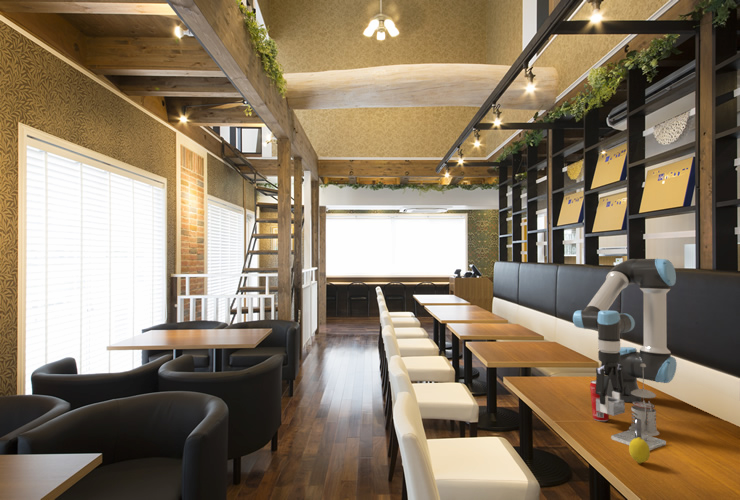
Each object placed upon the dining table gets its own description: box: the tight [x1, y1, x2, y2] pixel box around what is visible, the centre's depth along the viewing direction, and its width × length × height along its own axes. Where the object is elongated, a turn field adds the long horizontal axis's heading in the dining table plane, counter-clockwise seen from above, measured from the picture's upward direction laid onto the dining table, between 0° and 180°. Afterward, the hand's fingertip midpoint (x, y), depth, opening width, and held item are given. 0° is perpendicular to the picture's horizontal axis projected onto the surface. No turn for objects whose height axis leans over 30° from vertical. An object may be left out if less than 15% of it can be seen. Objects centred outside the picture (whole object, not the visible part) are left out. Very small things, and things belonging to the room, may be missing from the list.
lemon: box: [628, 437, 651, 464], centre depth 137 cm, size 6×6×8 cm
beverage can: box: [589, 379, 610, 422], centre depth 177 cm, size 6×6×15 cm
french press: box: [628, 363, 660, 437], centre depth 164 cm, size 10×12×25 cm
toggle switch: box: [610, 419, 667, 451], centre depth 154 cm, size 12×12×8 cm
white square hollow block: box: [596, 396, 626, 417], centre depth 170 cm, size 7×7×4 cm
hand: (610, 410), depth 170 cm, fingers closed on white square hollow block, 7 cm apart
